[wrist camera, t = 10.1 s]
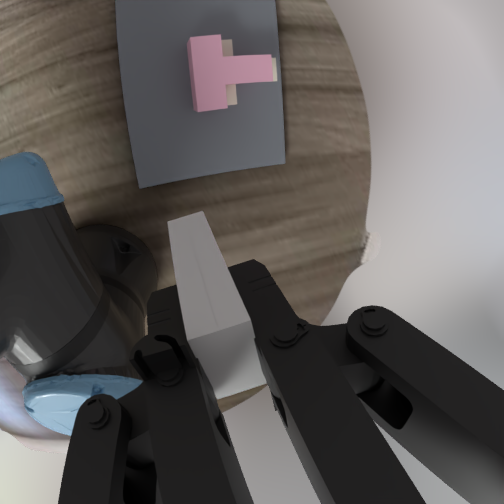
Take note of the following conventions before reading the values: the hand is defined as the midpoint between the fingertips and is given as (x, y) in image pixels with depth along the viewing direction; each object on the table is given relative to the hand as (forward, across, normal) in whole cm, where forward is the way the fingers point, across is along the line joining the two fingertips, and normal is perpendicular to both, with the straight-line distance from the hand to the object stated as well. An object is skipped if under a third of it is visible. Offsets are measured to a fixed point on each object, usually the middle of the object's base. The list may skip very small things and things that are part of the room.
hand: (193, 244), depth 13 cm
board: (+25, +6, +7) cm, 26 cm away
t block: (+23, +7, +7) cm, 25 cm away
